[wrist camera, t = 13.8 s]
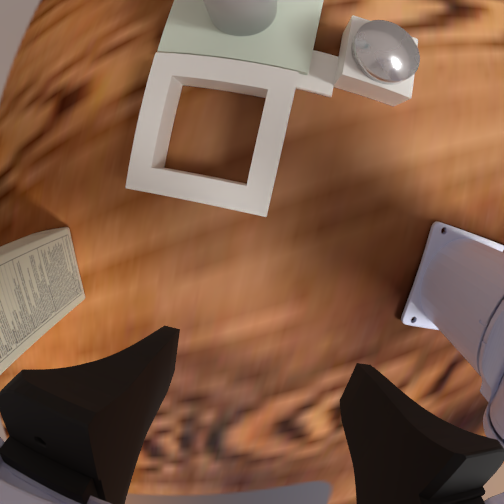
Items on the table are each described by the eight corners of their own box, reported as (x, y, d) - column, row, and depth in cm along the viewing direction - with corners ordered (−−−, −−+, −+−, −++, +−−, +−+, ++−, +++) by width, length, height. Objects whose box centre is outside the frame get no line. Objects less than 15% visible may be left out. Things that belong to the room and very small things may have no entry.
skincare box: (34, 232, 22) (-77, 276, 10) (72, 225, 22) (-48, 272, 10) (51, 302, 24) (-42, 372, 12) (89, 301, 23) (-6, 384, 12)
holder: (401, 53, 17) (418, 39, 14) (364, 235, 21) (378, 245, 18) (185, 7, 17) (174, -12, 14) (140, 185, 21) (121, 188, 18)
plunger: (400, 52, 17) (421, 35, 13) (393, 101, 18) (416, 90, 14) (346, 33, 17) (359, 11, 13) (337, 83, 18) (350, 66, 14)
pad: (325, -13, 16) (327, -19, 15) (306, 77, 18) (308, 72, 17) (191, -30, 16) (188, -36, 15) (161, 55, 18) (157, 51, 17)
